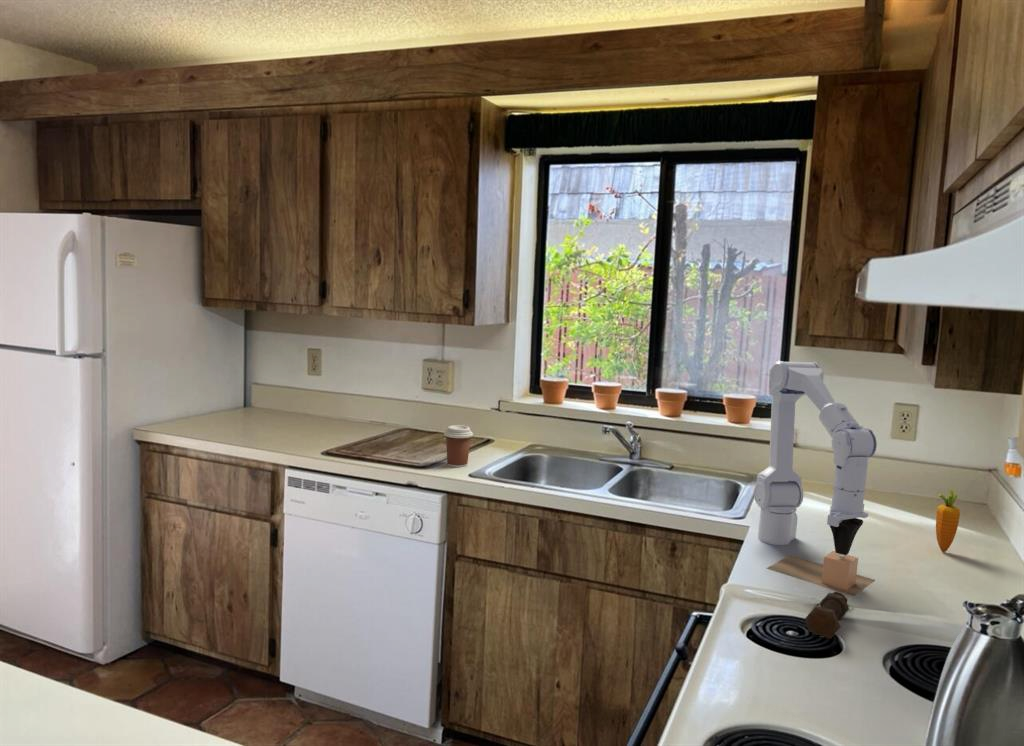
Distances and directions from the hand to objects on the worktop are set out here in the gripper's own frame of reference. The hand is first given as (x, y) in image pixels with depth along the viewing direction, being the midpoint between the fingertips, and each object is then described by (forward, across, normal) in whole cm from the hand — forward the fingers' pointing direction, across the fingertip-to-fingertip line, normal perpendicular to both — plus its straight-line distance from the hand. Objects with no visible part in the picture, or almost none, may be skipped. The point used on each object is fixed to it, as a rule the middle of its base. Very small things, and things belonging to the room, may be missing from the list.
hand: (841, 553), depth 154 cm
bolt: (+8, -16, -5) cm, 19 cm away
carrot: (+8, +44, -8) cm, 46 cm away
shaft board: (+8, +2, +4) cm, 9 cm away
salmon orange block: (+6, 0, 0) cm, 6 cm away
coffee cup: (+8, +5, +120) cm, 120 cm away
